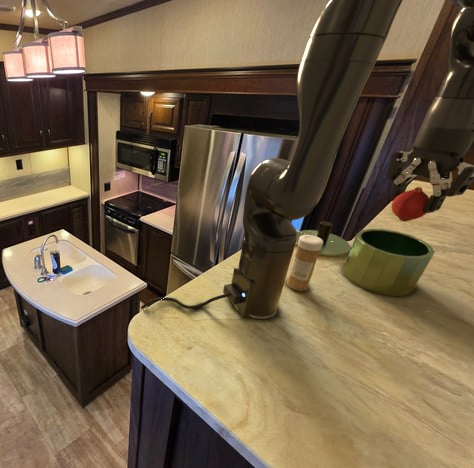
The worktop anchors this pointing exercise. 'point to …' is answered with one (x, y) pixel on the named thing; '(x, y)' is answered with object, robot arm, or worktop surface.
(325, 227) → the bin lid
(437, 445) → the worktop surface
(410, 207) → the onion
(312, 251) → the sprinkles bottle
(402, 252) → the bin
